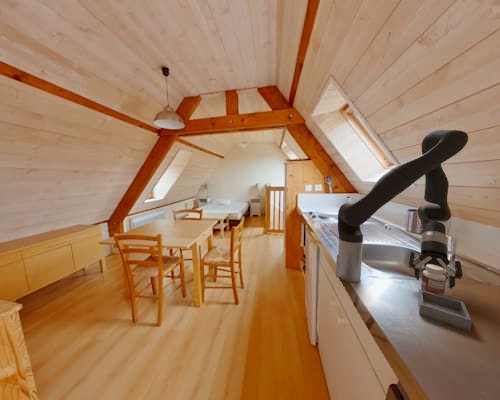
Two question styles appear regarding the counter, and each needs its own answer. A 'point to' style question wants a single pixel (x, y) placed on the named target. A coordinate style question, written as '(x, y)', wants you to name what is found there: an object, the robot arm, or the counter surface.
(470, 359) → the counter surface
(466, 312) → the charcoal bin
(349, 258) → the robot arm
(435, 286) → the pill bottle
